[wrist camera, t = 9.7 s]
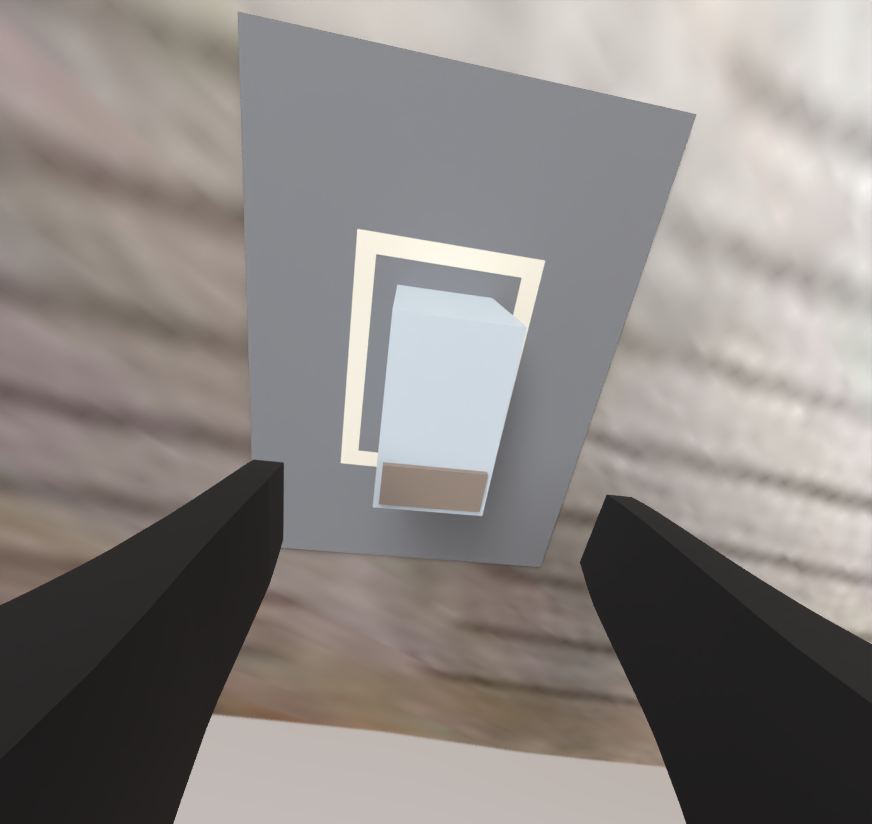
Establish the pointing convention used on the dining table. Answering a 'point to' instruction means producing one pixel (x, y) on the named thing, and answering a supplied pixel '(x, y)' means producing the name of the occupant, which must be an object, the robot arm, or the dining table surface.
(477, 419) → the card box
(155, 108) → the dining table surface
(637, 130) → the mat
